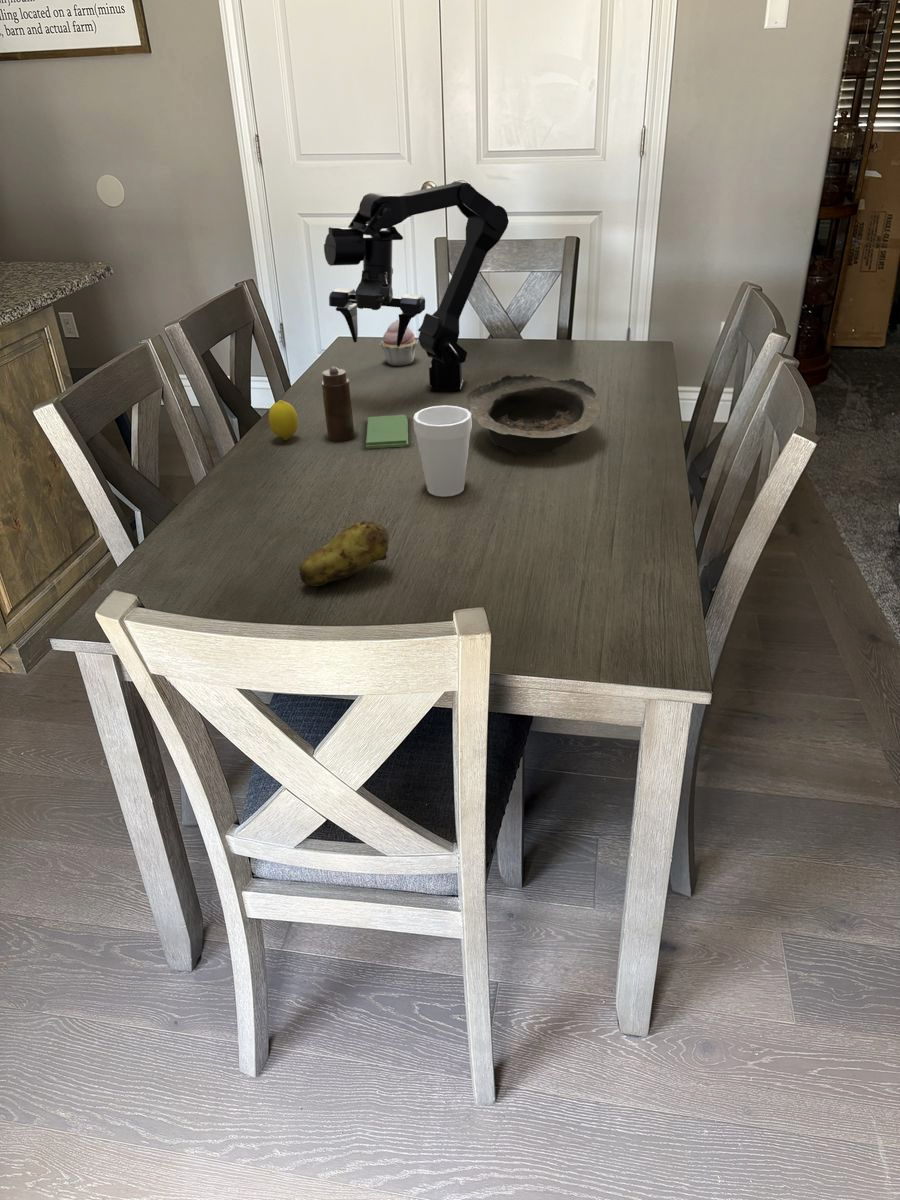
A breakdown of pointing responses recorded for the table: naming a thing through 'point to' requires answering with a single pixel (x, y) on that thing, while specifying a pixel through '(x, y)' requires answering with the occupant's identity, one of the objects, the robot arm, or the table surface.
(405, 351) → the cupcake
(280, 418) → the lemon
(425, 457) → the foam cup
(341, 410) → the pepper mill
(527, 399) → the stone bowl
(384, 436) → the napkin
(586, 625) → the table surface
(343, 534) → the potato
